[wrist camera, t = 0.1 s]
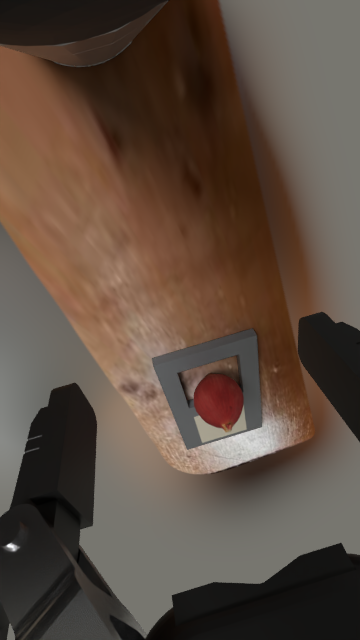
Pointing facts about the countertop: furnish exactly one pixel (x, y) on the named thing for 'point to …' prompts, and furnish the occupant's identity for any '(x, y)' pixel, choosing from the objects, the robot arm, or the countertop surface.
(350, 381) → the robot arm
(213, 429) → the tray
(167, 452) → the countertop surface
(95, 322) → the countertop surface
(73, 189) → the countertop surface
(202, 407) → the onion
